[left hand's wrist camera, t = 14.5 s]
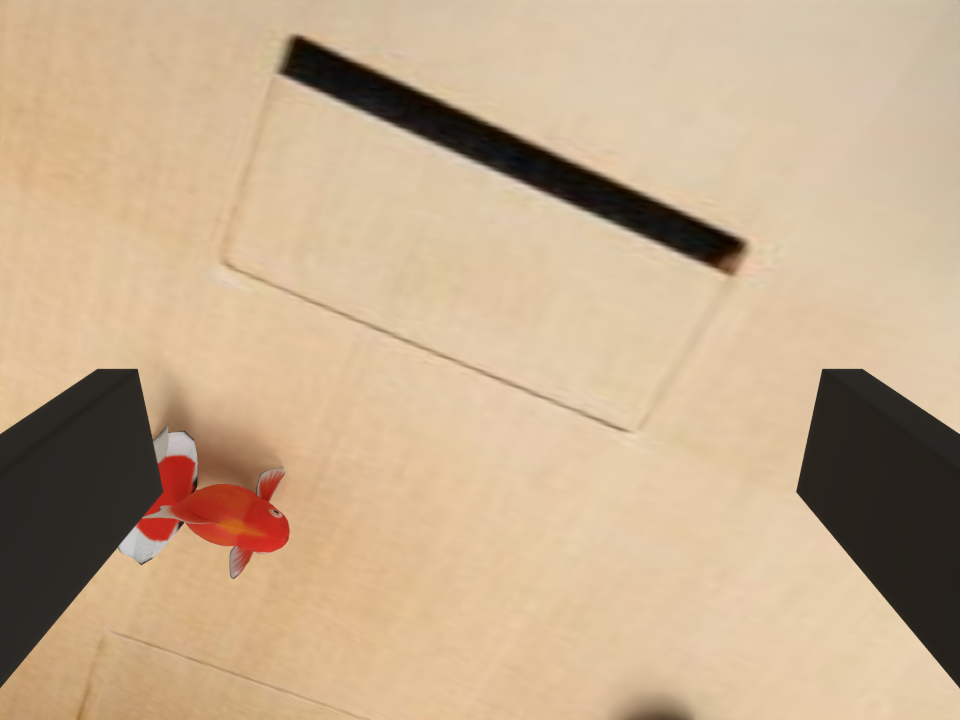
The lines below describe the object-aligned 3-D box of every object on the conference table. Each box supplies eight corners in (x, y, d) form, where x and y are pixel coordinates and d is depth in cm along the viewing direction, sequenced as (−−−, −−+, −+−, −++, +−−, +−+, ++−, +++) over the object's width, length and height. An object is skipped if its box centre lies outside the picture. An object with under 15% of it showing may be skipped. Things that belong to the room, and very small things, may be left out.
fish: (256, 622, 48) (169, 663, 38) (120, 499, 52) (9, 508, 42) (337, 505, 48) (270, 516, 39) (195, 391, 52) (102, 375, 42)
